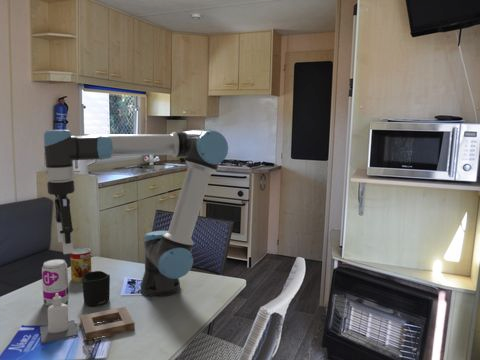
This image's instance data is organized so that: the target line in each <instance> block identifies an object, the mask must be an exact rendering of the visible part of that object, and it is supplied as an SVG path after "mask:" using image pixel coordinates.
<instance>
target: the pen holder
mask: <svg viewBox="0 0 480 360" xmlns="http://www.w3.org/2000/svg"><path fill="white" fill-rule="evenodd" d="M110 277H111V275H110V274H108V273H107V272H104V271H102V270H94V271H91V272H89V273H86V274H84V275H83V276H82V282H81V283H82V295H83V303H84V305H85V306H86V307H90V308H97V307H102V306H104V305H106V304H108V303H109V302H110V291H111V290H110V289H111V288H110V287H111V286H110V285H111V282H110V281H111V280H110V279H111V278H110Z"/></svg>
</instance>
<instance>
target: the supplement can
mask: <svg viewBox="0 0 480 360" xmlns="http://www.w3.org/2000/svg"><path fill="white" fill-rule="evenodd" d="M68 272H69V271H68V264H67V262H66V260H65V259H61V258H58V259H57V258H55V259H49V260H46V261H44V262H43V265H42V267H41V280H42V295H43V297H42V298H43V304H44V305H45V306H47V307H50V306H51V305H53V298H54V297H55V294H56V293H58V295H59V296H61V299H62V303H63V304H66V303H67V302H68V301H69V299H70V298H69V297H70V296H69V295H70V294H69V277H68Z"/></svg>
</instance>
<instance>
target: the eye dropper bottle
mask: <svg viewBox="0 0 480 360" xmlns="http://www.w3.org/2000/svg"><path fill="white" fill-rule="evenodd" d="M68 312H69V311H68V304H66V303H65V304H63V303H62V299H61V296H59V295H58V293H56V294H55V297H54V298H53V305H51V306H48V308H47V325H48V331H49V333H59V332H63V331H66V330H68V321H69V313H68Z"/></svg>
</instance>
